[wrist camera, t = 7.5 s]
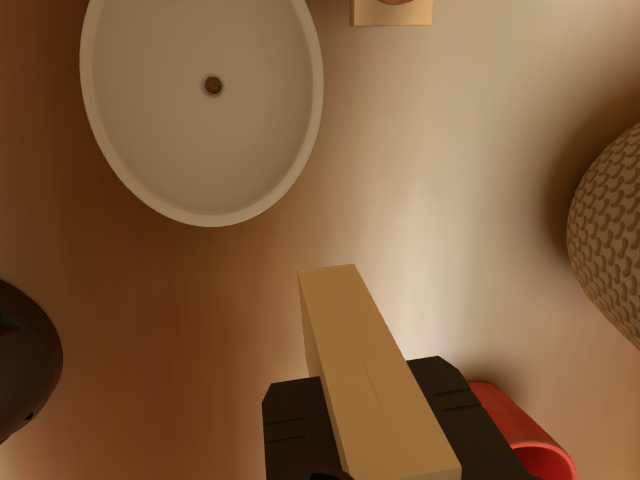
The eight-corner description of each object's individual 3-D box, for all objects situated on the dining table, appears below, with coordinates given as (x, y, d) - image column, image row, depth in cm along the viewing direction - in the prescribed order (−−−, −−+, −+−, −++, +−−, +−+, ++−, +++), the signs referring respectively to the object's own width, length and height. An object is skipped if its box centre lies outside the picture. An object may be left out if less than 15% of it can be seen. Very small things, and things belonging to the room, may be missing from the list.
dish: (90, -74, 29) (58, -97, 24) (323, -50, 31) (334, -67, 26) (117, 202, 35) (96, 225, 31) (308, 207, 37) (315, 229, 33)
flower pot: (394, 430, 47) (426, 519, 38) (462, 350, 45) (514, 426, 36) (470, 465, 51) (516, 554, 42) (539, 392, 48) (603, 471, 39)
